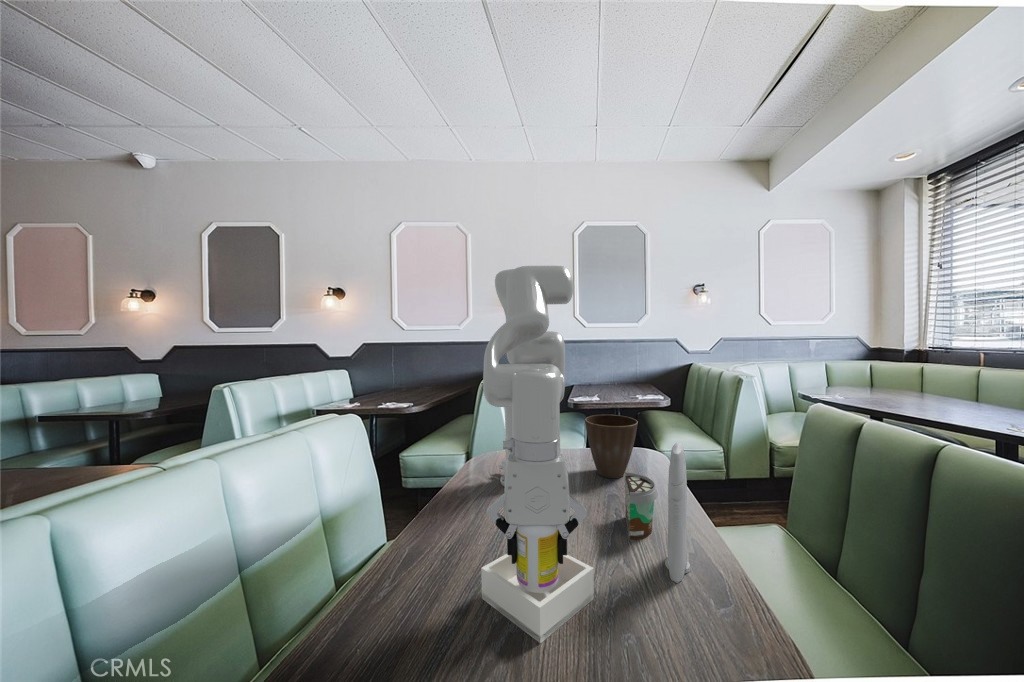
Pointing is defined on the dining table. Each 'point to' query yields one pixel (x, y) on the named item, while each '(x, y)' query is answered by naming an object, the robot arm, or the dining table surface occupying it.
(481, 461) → the dining table surface
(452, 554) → the dining table surface
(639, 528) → the food container
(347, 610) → the dining table surface
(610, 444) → the plant pot
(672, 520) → the tall pale column
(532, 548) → the supplement bottle
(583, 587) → the box
